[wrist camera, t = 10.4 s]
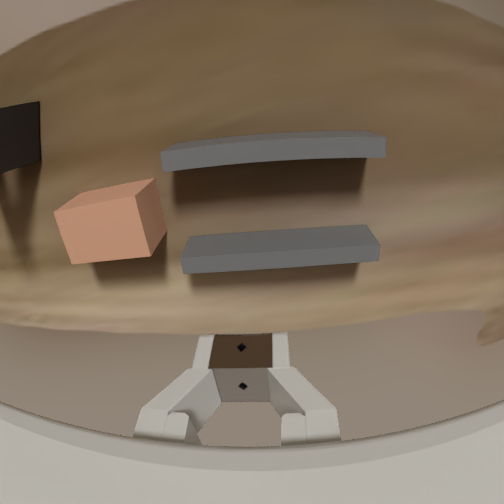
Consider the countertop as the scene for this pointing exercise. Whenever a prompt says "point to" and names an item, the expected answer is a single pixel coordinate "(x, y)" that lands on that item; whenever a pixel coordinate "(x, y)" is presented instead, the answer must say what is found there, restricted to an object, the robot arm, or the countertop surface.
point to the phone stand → (19, 136)
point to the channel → (276, 241)
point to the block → (112, 223)
